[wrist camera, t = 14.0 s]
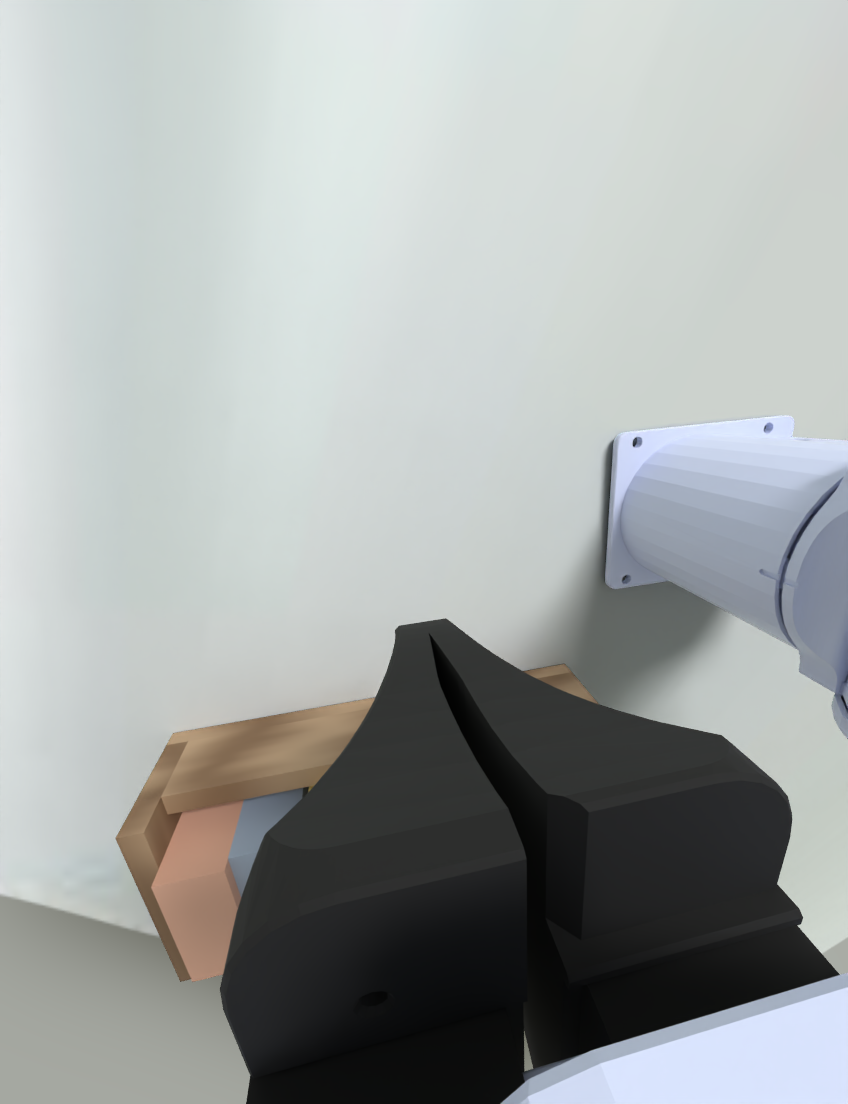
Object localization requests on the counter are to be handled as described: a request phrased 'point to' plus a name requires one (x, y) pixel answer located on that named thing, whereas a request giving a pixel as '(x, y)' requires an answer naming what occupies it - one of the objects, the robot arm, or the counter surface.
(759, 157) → the counter surface
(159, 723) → the counter surface
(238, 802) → the row books
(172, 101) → the counter surface
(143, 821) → the shelf tray
